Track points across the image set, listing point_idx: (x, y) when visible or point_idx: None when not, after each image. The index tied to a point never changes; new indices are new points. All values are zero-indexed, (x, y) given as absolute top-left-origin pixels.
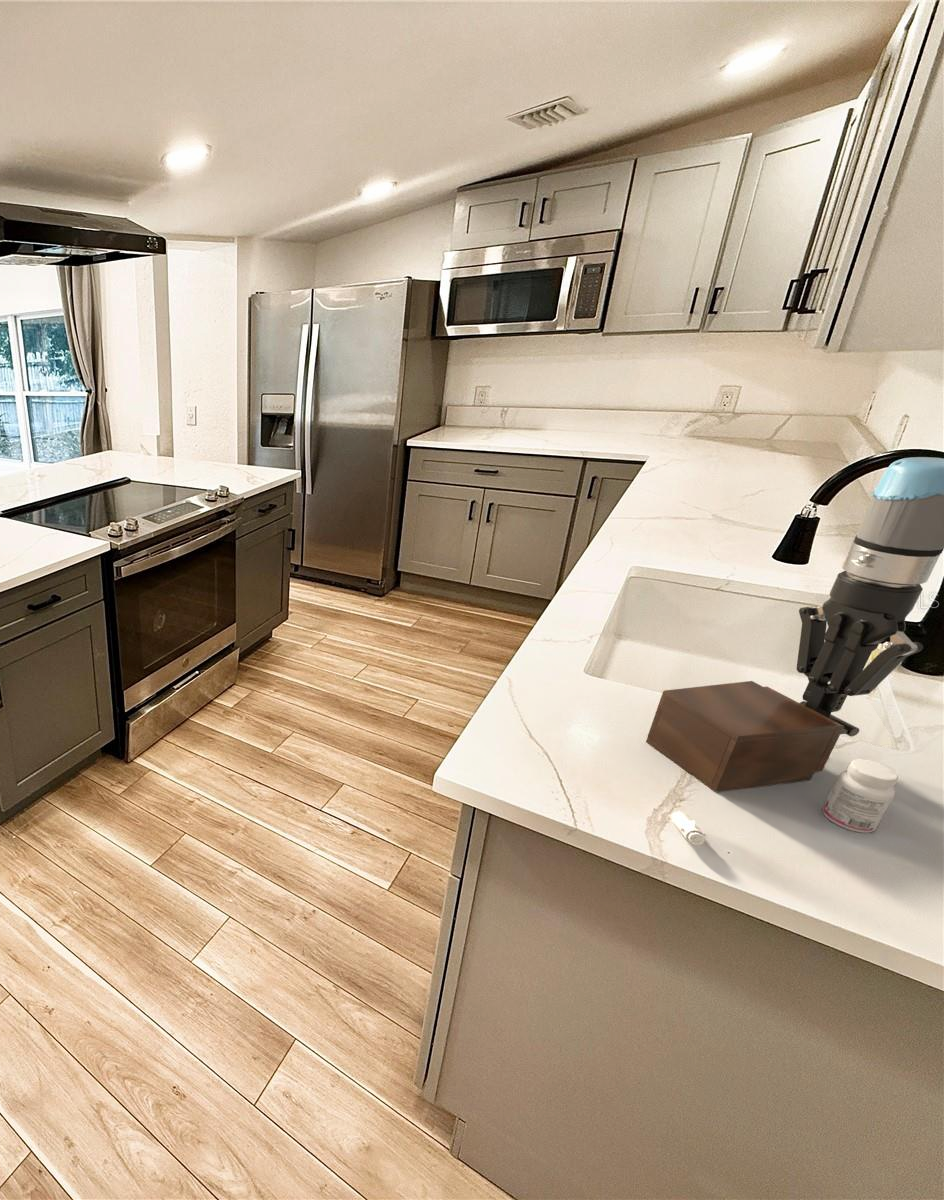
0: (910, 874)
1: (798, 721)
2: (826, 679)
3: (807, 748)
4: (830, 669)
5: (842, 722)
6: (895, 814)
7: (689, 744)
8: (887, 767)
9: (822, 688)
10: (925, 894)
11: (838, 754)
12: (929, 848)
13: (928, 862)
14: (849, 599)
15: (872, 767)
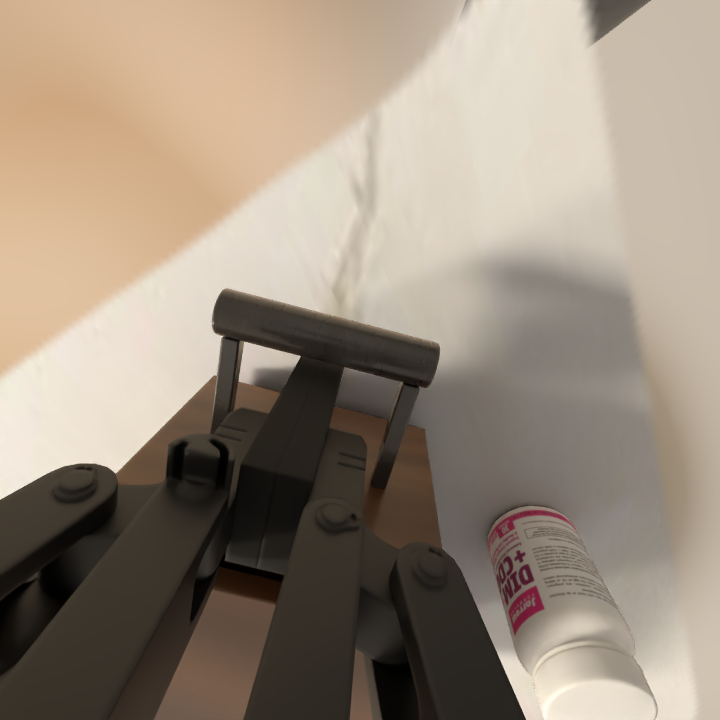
0: (650, 599)
1: (362, 708)
2: (219, 542)
3: None
4: (175, 634)
5: (384, 370)
6: (585, 432)
7: None
8: (624, 686)
9: (264, 563)
10: (676, 627)
11: (393, 250)
12: (661, 500)
13: (666, 544)
14: None
15: (594, 714)
